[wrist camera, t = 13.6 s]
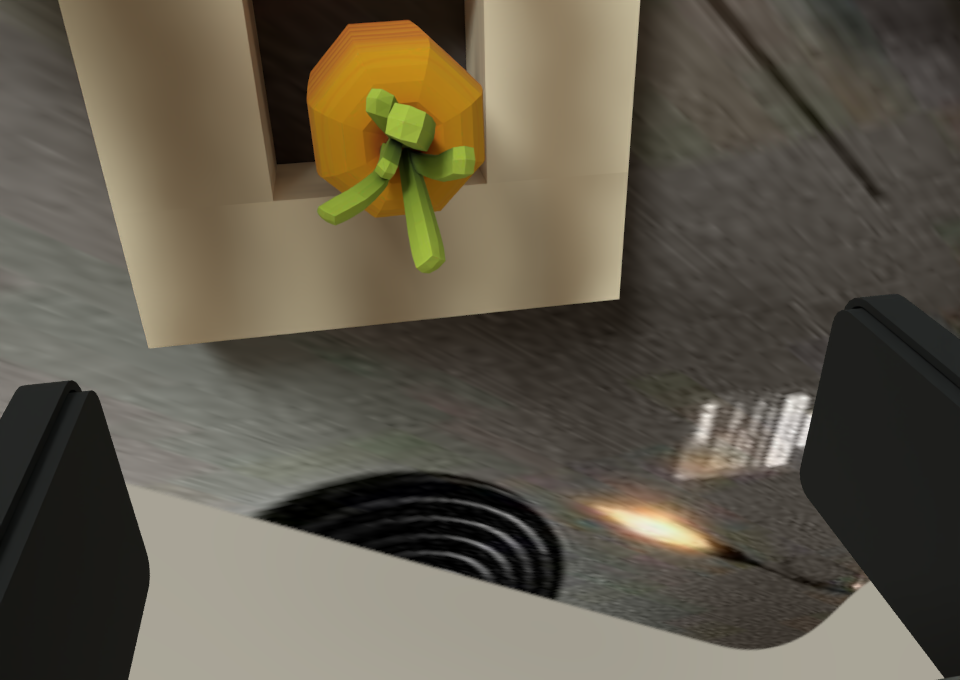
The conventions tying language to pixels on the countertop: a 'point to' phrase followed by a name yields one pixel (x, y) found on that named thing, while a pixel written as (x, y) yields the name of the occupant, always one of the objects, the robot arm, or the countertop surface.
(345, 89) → the carrot
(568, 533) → the countertop surface
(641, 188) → the countertop surface
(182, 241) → the maple block
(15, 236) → the countertop surface
